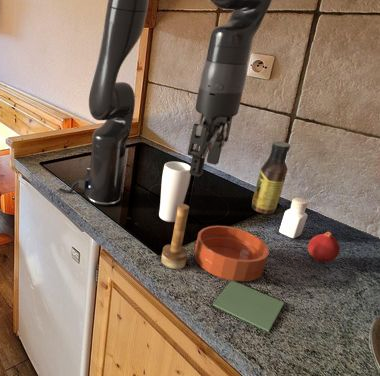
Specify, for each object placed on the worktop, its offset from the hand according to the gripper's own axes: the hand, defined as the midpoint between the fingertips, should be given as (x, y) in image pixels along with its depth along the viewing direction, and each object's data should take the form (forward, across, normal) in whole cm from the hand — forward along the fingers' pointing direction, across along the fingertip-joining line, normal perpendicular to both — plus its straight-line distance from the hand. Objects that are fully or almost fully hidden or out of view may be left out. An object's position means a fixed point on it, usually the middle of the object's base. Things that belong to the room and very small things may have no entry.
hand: (203, 169), depth 81 cm
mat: (+22, +5, +15) cm, 27 cm away
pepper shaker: (+22, -30, +14) cm, 40 cm away
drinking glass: (+23, -16, -12) cm, 30 cm away
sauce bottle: (+22, -39, +6) cm, 45 cm away
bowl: (+22, -6, +7) cm, 24 cm away
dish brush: (+22, +2, -2) cm, 22 cm away
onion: (+22, -21, +22) cm, 38 cm away
